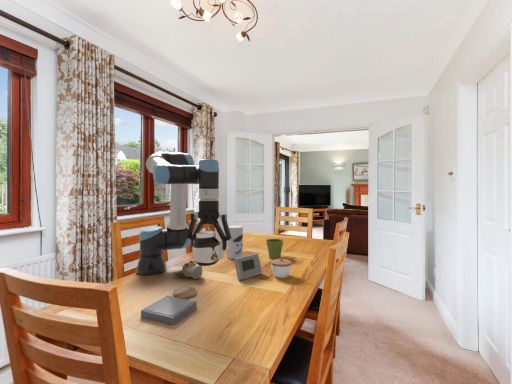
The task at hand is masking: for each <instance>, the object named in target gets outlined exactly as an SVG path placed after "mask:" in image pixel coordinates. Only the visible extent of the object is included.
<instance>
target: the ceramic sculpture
mask: <svg viewBox="0 0 512 384" xmlns="http://www.w3.org/2000/svg"><path fill="white" fill-rule="evenodd" d="M172 274H174V275H176V276H178V277H185V278H192V279H193V280H199V279H200V278H201V277H202V276H203V266H200V265H197V263H195V261H194V260H190V261H189V262H186V263H184V264H183V265H182V268H181V270H178V271H174V272H172Z"/></svg>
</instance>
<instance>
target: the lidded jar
mask: <svg viewBox="0 0 512 384" xmlns="http://www.w3.org/2000/svg"><path fill="white" fill-rule="evenodd" d="M270 263H271V265H270V266H271V272H272V274H273V276H275V278H277V279H286V278H288V276H289V275H290V274H291V272H292V265H293V261H292V260H290V259H287V258H282V257H280V258H279V259H271V261H270Z"/></svg>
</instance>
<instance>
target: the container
mask: <svg viewBox="0 0 512 384" xmlns="http://www.w3.org/2000/svg"><path fill="white" fill-rule="evenodd" d="M228 227H229V230H230V234H231V239H230V240H228V241H227V248H226V250H227V251H226V253H227V254H226V255H227V258H228V259H231V260H234V259H235V258H238V257H241V256H244V255H243V253H244V251H243V250H244V249H243V248H244V233H243V232H244V227H243V226H242V225H228Z"/></svg>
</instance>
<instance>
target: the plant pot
mask: <svg viewBox="0 0 512 384" xmlns="http://www.w3.org/2000/svg"><path fill="white" fill-rule="evenodd" d="M265 242H266V246H267V252H268V258H269V259H271V260H274V259H280V258H282V257H281V255H282V250H283V245H284V242H285V241H284V240H283V239H279V238H267V239H266V240H265Z"/></svg>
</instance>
